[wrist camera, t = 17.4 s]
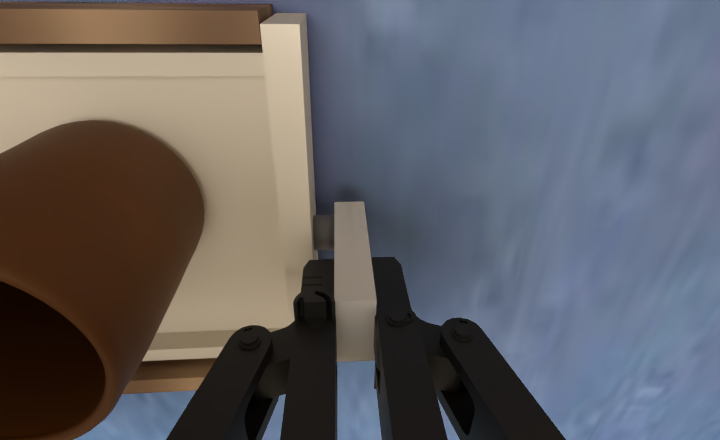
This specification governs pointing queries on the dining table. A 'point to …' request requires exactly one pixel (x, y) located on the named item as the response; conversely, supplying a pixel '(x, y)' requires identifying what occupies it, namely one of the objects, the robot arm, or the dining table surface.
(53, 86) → the drawer
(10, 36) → the frame
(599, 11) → the dining table surface
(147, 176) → the mug
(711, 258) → the dining table surface
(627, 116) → the dining table surface
